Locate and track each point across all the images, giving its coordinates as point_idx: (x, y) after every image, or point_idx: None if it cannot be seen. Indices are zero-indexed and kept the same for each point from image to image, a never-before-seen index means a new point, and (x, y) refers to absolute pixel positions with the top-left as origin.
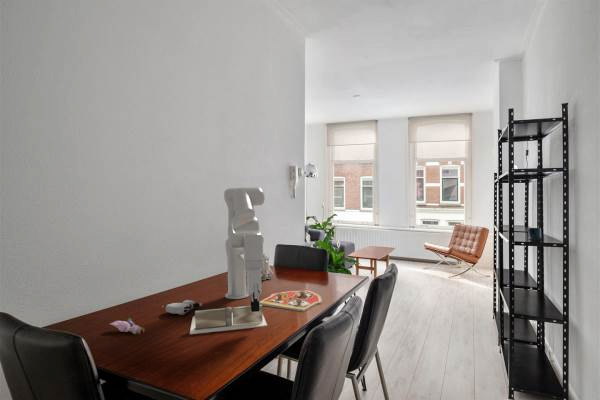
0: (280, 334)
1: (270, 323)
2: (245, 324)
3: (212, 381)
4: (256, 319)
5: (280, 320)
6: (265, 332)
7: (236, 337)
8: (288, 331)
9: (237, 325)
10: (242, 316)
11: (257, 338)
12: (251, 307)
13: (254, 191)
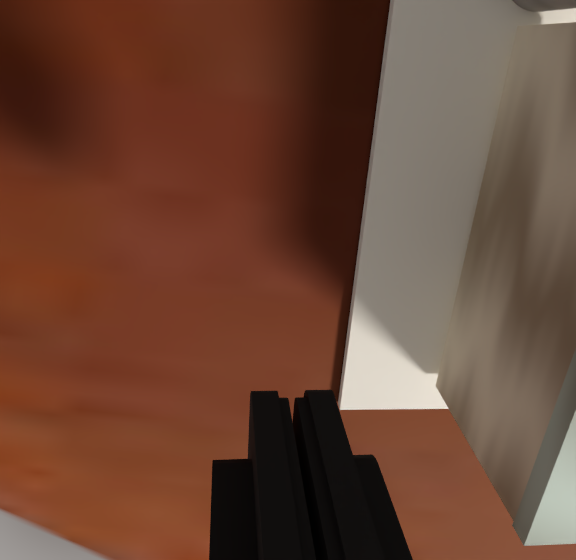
0: (80, 476)
1: (395, 435)
2: (467, 199)
3: None
4: (461, 345)
5: (428, 513)
6: (167, 368)
7: (87, 24)
8: (138, 535)
9: (485, 92)
10: (538, 193)
11: (9, 275)
12: (257, 453)
13: None
